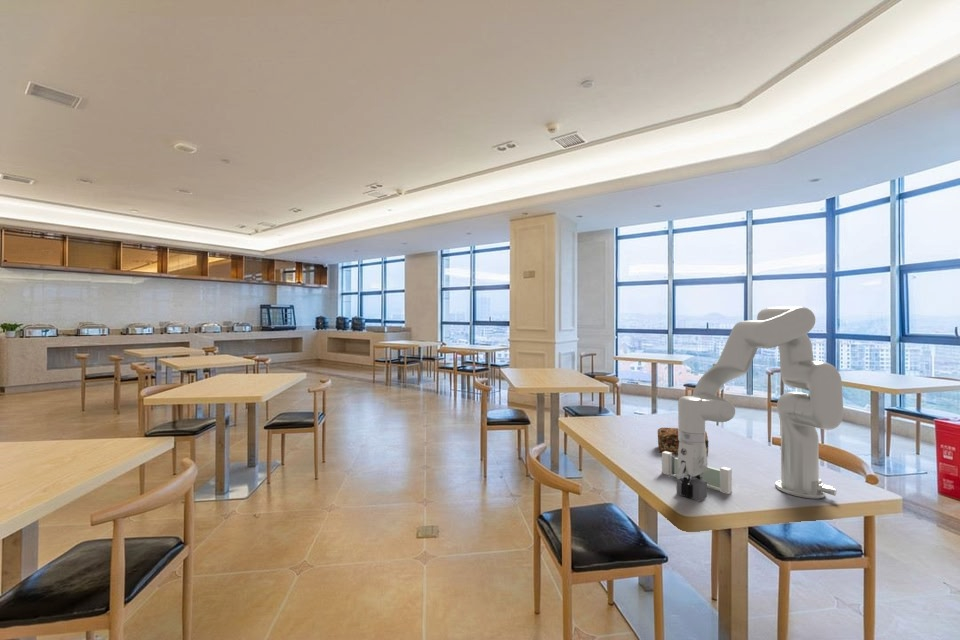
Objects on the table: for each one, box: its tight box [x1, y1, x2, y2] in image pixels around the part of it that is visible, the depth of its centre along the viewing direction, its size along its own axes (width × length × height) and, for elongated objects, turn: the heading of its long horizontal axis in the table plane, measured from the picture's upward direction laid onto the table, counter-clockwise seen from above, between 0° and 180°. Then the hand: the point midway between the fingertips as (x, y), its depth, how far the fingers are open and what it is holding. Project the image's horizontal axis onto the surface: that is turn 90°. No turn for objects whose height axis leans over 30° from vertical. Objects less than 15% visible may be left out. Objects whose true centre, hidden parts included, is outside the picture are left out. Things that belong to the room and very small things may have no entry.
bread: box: [657, 427, 709, 458], centre depth 169 cm, size 19×11×10 cm, turn 66°
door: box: [670, 455, 720, 488], centre depth 138 cm, size 16×1×6 cm, turn 36°
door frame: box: [661, 451, 733, 495], centre depth 138 cm, size 22×2×8 cm, turn 36°
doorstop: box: [676, 475, 708, 502], centre depth 128 cm, size 7×5×5 cm
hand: (691, 493), depth 128 cm, fingers closed on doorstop, 5 cm apart
